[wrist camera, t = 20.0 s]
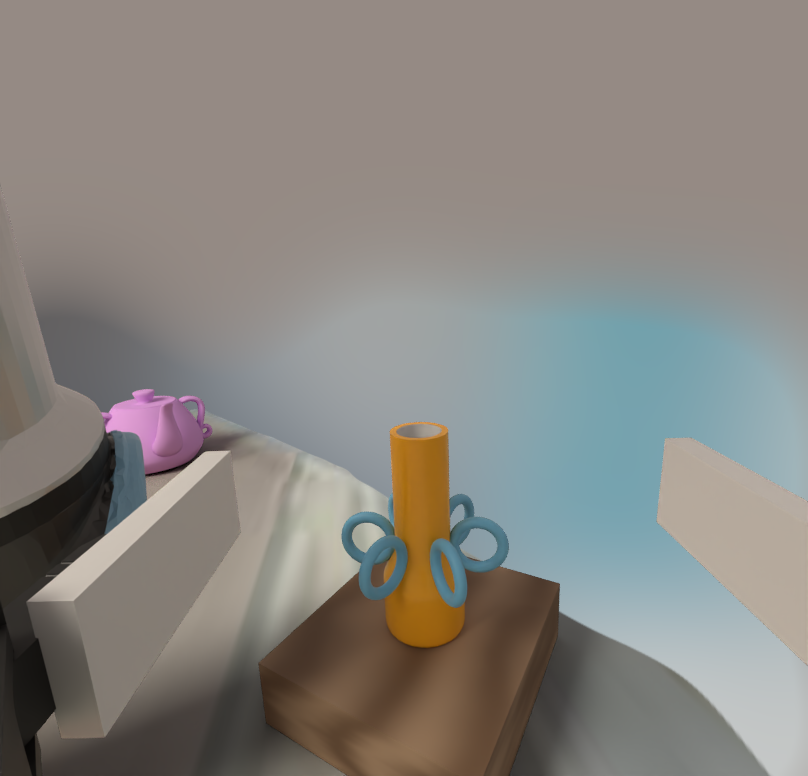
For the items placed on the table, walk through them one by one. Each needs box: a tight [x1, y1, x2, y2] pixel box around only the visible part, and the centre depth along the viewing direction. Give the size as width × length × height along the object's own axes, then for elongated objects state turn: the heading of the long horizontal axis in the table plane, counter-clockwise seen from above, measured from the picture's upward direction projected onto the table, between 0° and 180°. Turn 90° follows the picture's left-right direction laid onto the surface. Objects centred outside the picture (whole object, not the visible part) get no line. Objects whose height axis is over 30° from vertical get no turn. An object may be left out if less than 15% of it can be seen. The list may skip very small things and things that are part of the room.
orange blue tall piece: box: [342, 422, 509, 648], centre depth 33 cm, size 12×10×15 cm
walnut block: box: [259, 557, 560, 776], centre depth 35 cm, size 16×18×5 cm
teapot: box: [101, 389, 212, 474], centre depth 81 cm, size 22×22×14 cm
